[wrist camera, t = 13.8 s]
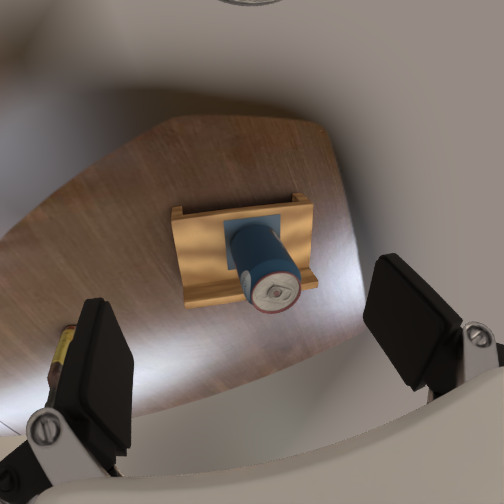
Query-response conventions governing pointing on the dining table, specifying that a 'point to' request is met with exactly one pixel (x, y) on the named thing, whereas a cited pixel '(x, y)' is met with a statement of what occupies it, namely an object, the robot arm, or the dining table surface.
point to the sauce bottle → (58, 363)
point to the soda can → (265, 269)
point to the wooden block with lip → (219, 247)
